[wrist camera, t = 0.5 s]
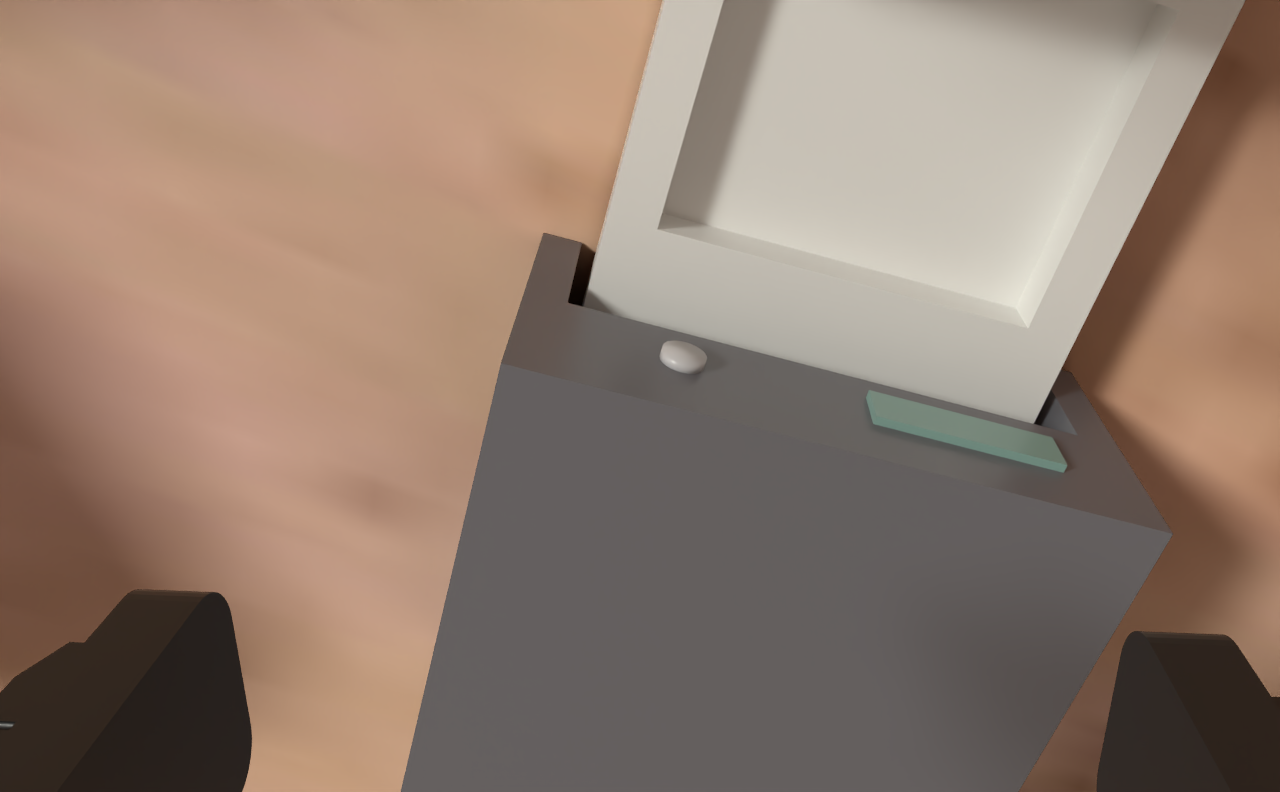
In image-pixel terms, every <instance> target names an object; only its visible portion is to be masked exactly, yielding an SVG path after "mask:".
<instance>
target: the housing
mask: <svg viewBox="0 0 1280 792" xmlns="http://www.w3.org/2000/svg"><path fill="white" fill-rule="evenodd" d="M581 244H582V243H581V242H577V241H573V240H569V239H565V238H562V237H558V236H554V235H550V234H547V233H543V236H542V240H541V243H540V246H539V249H538V252H537V255H536V258H535V261H534V264H533V267H532V270H531V273H530V276H529V279H528V282H527V285H526V288H525V292H524V295H523V298H522V301H521V304H520V307H519V310H518V313H517V316H516V319H515V322H514V325H513V328H512V331H511V334H510V337H509V340H508V344H507V347H506V350H505V353H504V356H503V359H502V362H501V366H500V370H499V374H498V378H497V383H496V387H495V391H494V396H493V400H492V404H491V408H490V413H489V417H488V421H487V425H486V430H485V434H484V438H483V443H482V447H481V451H480V455H479V460H478V464H477V468H476V472H475V477H474V481H473V485H472V490H471V494H470V498H469V502H468V507H467V511H466V515H465V520H464V524H463V528H462V532H461V537H460V541H459V545H458V549H457V554H456V558H455V562H454V567H453V571H452V575H451V579H450V584H449V588H448V592H447V596H446V601H445V605H444V609H443V614H442V618H441V622H440V626H439V631H438V635H437V639H436V643H435V648H434V652H433V656H432V661H431V665H430V669H429V673H428V678H427V682H426V686H425V690H424V695H423V699H422V703H421V708H420V712H419V716H418V720H417V725H416V729H415V733H414V738H413V742H412V746H411V750H410V755H409V759H408V763H407V767H406V772H405V776H404V780H403V785H402V789H401V792H1019V790H1020V788H1021V787H1022V785H1023V783H1024V782H1025V780H1026V778H1027V777H1028V775H1029V773H1030V772H1031V770H1032V768H1033V767H1034V765H1035V763H1036V762H1037V760H1038V758H1039V757H1040V755H1041V753H1042V752H1043V750H1044V748H1045V747H1046V745H1047V743H1048V742H1049V740H1050V738H1051V737H1052V735H1053V733H1054V732H1055V730H1056V728H1057V727H1058V725H1059V723H1060V722H1061V720H1062V718H1063V717H1064V715H1065V713H1066V712H1067V710H1068V708H1069V707H1070V705H1071V703H1072V702H1073V700H1074V698H1075V697H1076V695H1077V693H1078V692H1079V690H1080V688H1081V687H1082V685H1083V683H1084V682H1085V680H1086V678H1087V677H1088V675H1089V673H1090V672H1091V670H1092V668H1093V667H1094V665H1095V663H1096V662H1097V660H1098V658H1099V657H1100V655H1101V653H1102V652H1103V650H1104V648H1105V647H1106V645H1107V643H1108V642H1109V640H1110V638H1111V637H1112V635H1113V633H1114V632H1115V630H1116V628H1117V627H1118V625H1119V623H1120V622H1121V620H1122V618H1123V617H1124V615H1125V613H1126V612H1127V610H1128V608H1129V607H1130V605H1131V603H1132V602H1133V600H1134V598H1135V597H1136V595H1137V593H1138V592H1139V590H1140V588H1141V587H1142V585H1143V583H1144V582H1145V580H1146V578H1147V577H1148V575H1149V573H1150V572H1151V570H1152V568H1153V567H1154V565H1155V563H1156V562H1157V560H1158V558H1159V557H1160V555H1161V553H1162V552H1163V550H1164V548H1165V547H1166V545H1167V543H1168V542H1169V540H1170V538H1171V537H1172V535H1173V533H1172V531H1171V530H1170V528H1169V527H1168V525H1167V523H1166V522H1165V520H1164V519H1163V517H1162V516H1161V514H1160V512H1159V511H1158V509H1157V508H1156V506H1155V504H1154V503H1153V501H1152V500H1151V498H1150V497H1149V495H1148V493H1147V492H1146V490H1145V489H1144V487H1143V485H1142V484H1141V482H1140V481H1139V479H1138V478H1137V476H1136V474H1135V473H1134V471H1133V470H1132V468H1131V467H1130V465H1129V463H1128V462H1127V460H1126V459H1125V457H1124V455H1123V454H1122V452H1121V451H1120V449H1119V448H1118V446H1117V444H1116V443H1115V441H1114V440H1113V438H1112V436H1111V435H1110V433H1109V432H1108V430H1107V429H1106V427H1105V425H1104V424H1103V422H1102V421H1101V419H1100V417H1099V416H1098V414H1097V413H1096V411H1095V410H1094V408H1093V406H1092V405H1091V403H1090V402H1089V400H1088V398H1087V397H1086V395H1085V394H1084V392H1083V391H1082V389H1081V387H1080V386H1079V384H1078V383H1077V381H1076V380H1075V378H1074V376H1073V375H1072V373H1071V372H1067V371H1064V370H1060V372H1059V374H1058V376H1057V378H1056V380H1055V382H1054V384H1053V386H1052V388H1051V390H1050V392H1049V394H1048V396H1047V398H1046V400H1045V402H1044V404H1043V406H1042V408H1041V410H1040V412H1039V414H1038V416H1037V418H1036V420H1035V422H1034V424H1032V423H1028V422H1024V421H1020V420H1016V419H1013V418H1009V417H1005V416H1001V415H997V414H993V413H989V412H986V411H982V410H978V409H974V408H970V407H966V406H963V405H959V404H955V403H951V402H947V401H943V400H939V399H936V398H932V397H928V396H924V395H920V394H916V393H913V392H909V391H905V390H901V389H897V388H893V387H889V386H886V385H882V384H878V383H874V382H870V381H866V380H863V379H859V378H855V377H851V376H847V375H843V374H839V373H836V372H832V371H828V370H824V369H820V368H816V367H813V366H809V365H805V364H801V363H797V362H793V361H790V360H786V359H782V358H778V357H774V356H770V355H766V354H763V353H759V352H755V351H751V350H747V349H743V348H740V347H736V346H732V345H728V344H724V343H720V342H716V341H713V340H709V339H705V338H701V337H697V336H693V335H690V334H686V333H682V332H678V331H674V330H670V329H666V328H663V327H659V326H655V325H651V324H647V323H643V322H640V321H636V320H632V319H628V318H624V317H620V316H616V315H613V314H609V313H605V312H601V311H597V310H593V309H590V308H586V307H582V306H578V305H574V304H570V303H568V299H569V294H570V290H571V286H572V282H573V278H574V273H575V269H576V265H577V261H578V257H579V252H580V248H581Z"/></svg>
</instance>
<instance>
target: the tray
mask: <svg viewBox="0 0 1280 792" xmlns="http://www.w3.org/2000/svg"><path fill="white" fill-rule="evenodd" d="M1244 2H1245V0H662V4H661V8H660V12H659V16H658V19H657V23H656V27H655V31H654V34H653V38H652V42H651V46H650V49H649V53H648V57H647V61H646V65H645V68H644V72H643V76H642V80H641V83H640V87H639V91H638V95H637V99H636V102H635V106H634V110H633V114H632V117H631V121H630V125H629V129H628V133H627V136H626V140H625V144H624V148H623V151H622V155H621V159H620V163H619V167H618V170H617V174H616V178H615V182H614V185H613V189H612V193H611V197H610V201H609V204H608V208H607V212H606V216H605V219H604V223H603V227H602V231H601V235H600V238H599V242H598V246H597V250H596V253H595V257H594V261H593V265H592V268H591V272H590V276H589V280H588V284H587V287H586V291H585V295H584V299H583V302H582V307H586V308H590V309H593V310H597V311H601V312H605V313H609V314H613V315H616V316H620V317H624V318H628V319H632V320H636V321H640V322H643V323H647V324H651V325H655V326H659V327H663V328H666V329H670V330H674V331H678V332H682V333H686V334H690V335H693V336H697V337H701V338H705V339H709V340H713V341H716V342H720V343H724V344H728V345H732V346H736V347H740V348H743V349H747V350H751V351H755V352H759V353H763V354H766V355H770V356H774V357H778V358H782V359H786V360H790V361H793V362H797V363H801V364H805V365H809V366H813V367H816V368H820V369H824V370H828V371H832V372H836V373H839V374H843V375H847V376H851V377H855V378H859V379H863V380H866V381H870V382H874V383H878V384H882V385H886V386H889V387H893V388H897V389H901V390H905V391H909V392H913V393H916V394H920V395H924V396H928V397H932V398H936V399H939V400H943V401H947V402H951V403H955V404H959V405H963V406H966V407H970V408H974V409H978V410H982V411H986V412H989V413H993V414H997V415H1001V416H1005V417H1009V418H1013V419H1016V420H1020V421H1024V422H1028V423H1032V424H1034V422H1035V420H1036V418H1037V416H1038V414H1039V412H1040V410H1041V408H1042V406H1043V404H1044V402H1045V400H1046V398H1047V396H1048V394H1049V392H1050V390H1051V388H1052V386H1053V384H1054V382H1055V380H1056V378H1057V376H1058V374H1059V372H1060V370H1061V368H1062V366H1063V364H1064V362H1065V360H1066V358H1067V356H1068V354H1069V352H1070V350H1071V348H1072V346H1073V344H1074V342H1075V340H1076V338H1077V336H1078V334H1079V332H1080V330H1081V328H1082V326H1083V324H1084V322H1085V320H1086V318H1087V316H1088V314H1089V312H1090V310H1091V308H1092V306H1093V304H1094V302H1095V300H1096V298H1097V296H1098V294H1099V292H1100V290H1101V288H1102V286H1103V284H1104V282H1105V280H1106V278H1107V276H1108V274H1109V272H1110V270H1111V268H1112V266H1113V264H1114V262H1115V260H1116V258H1117V256H1118V254H1119V252H1120V250H1121V248H1122V246H1123V244H1124V242H1125V240H1126V238H1127V236H1128V234H1129V232H1130V230H1131V228H1132V226H1133V224H1134V222H1135V220H1136V218H1137V216H1138V214H1139V212H1140V210H1141V208H1142V206H1143V204H1144V202H1145V200H1146V198H1147V196H1148V194H1149V192H1150V190H1151V188H1152V186H1153V184H1154V182H1155V180H1156V178H1157V176H1158V174H1159V172H1160V170H1161V168H1162V166H1163V164H1164V162H1165V160H1166V158H1167V156H1168V154H1169V152H1170V150H1171V148H1172V146H1173V144H1174V142H1175V140H1176V138H1177V136H1178V134H1179V132H1180V130H1181V128H1182V126H1183V124H1184V122H1185V120H1186V118H1187V116H1188V114H1189V112H1190V110H1191V108H1192V106H1193V104H1194V102H1195V100H1196V98H1197V96H1198V94H1199V92H1200V90H1201V88H1202V86H1203V84H1204V82H1205V80H1206V78H1207V76H1208V74H1209V72H1210V70H1211V68H1212V66H1213V64H1214V62H1215V60H1216V58H1217V56H1218V54H1219V52H1220V50H1221V48H1222V46H1223V44H1224V42H1225V40H1226V38H1227V36H1228V34H1229V32H1230V30H1231V28H1232V26H1233V24H1234V22H1235V20H1236V18H1237V16H1238V14H1239V12H1240V10H1241V8H1242V6H1243V4H1244Z"/></svg>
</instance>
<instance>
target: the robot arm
mask: <svg viewBox="0 0 1280 792" xmlns="http://www.w3.org/2000/svg"><path fill="white" fill-rule="evenodd" d="M251 747H252V733H251V724H250V718H249V712H248V707H247V701H246V695H245V690H244V684H243V678H242V673H241V667H240V661H239V656H238V650H237V644H236V639H235V633H234V627H233V622H232V616H231V612H230V608H229V606H228V603H227V601H226V600H225V598H224V597H223V596H222V595H221V594H219V593H216V592H192V591H167V590H142V589H137V590H134V591H132V592H130V593H128V594H127V595H126V596H125V597H124V598H123V599H122V600H121V601H120V602H119V604H118V605H117V606H116V607H115V608H114V609H113V610H112V612H111V613H110V614H109V615H108V616H107V617H106V619H105V620H104V621H103V622H102V623H101V624H100V626H99V627H98V628H97V629H96V630H95V631H94V632H93V634H92V635H91V636H90V637H89V638H88V639H87V641H86V642H85V643H75V642H69V643H68V644H66V645H65V646H63V647H61V648H60V649H58V650H57V651H55V652H54V653H52V654H50V655H49V656H47V657H46V658H44V659H43V660H41V661H39V662H38V663H36V664H35V665H33V666H32V667H30V668H28V669H27V670H25V671H24V672H22V673H21V674H19V675H17V676H16V677H14V678H13V679H12V681H11V682H10V683H9V684H8V685H7V686H6V687H5V688H4V689H3V690H2V692H1V693H0V792H242V790H243V788H244V785H245V781H246V778H247V774H248V770H249V764H250V758H251ZM1097 792H1280V697H1271V696H1270V694H1269V693H1268V691H1267V690H1266V688H1265V687H1264V685H1263V684H1262V682H1261V681H1260V679H1259V678H1258V676H1257V675H1256V673H1255V672H1254V670H1253V669H1252V667H1251V666H1250V664H1249V663H1248V661H1247V659H1246V658H1245V656H1244V655H1243V653H1242V652H1241V650H1240V649H1239V647H1238V646H1237V645H1236V643H1235V642H1234V641H1233V640H1232V639H1231V638H1230V637H1228V636H1226V635H1218V634H1192V633H1167V632H1142V631H1134V632H1132V633H1131V634H1130V635H1129V636H1128V637H1127V639H1126V641H1125V643H1124V646H1123V648H1122V652H1121V657H1120V662H1119V667H1118V672H1117V677H1116V682H1115V687H1114V692H1113V697H1112V702H1111V707H1110V712H1109V717H1108V722H1107V728H1106V733H1105V738H1104V743H1103V748H1102V753H1101V758H1100V763H1099V769H1098V775H1097Z"/></svg>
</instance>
